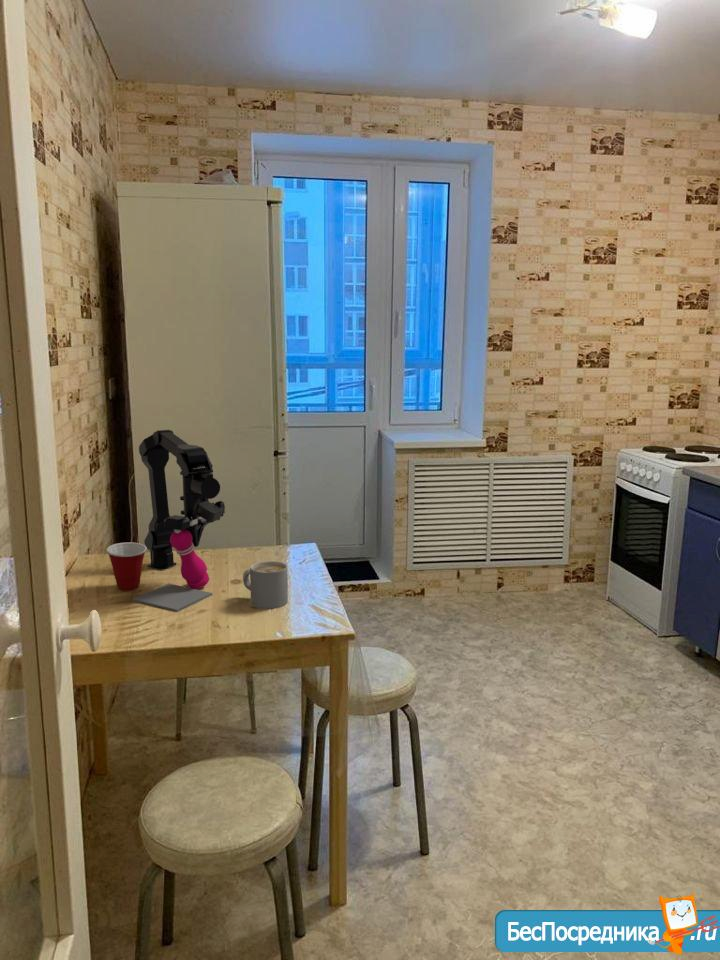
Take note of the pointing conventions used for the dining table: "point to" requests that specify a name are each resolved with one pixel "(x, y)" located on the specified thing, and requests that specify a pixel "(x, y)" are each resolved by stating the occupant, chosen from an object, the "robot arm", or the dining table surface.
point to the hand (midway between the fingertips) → (195, 546)
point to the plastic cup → (127, 564)
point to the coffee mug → (267, 584)
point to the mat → (172, 597)
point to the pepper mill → (189, 559)
